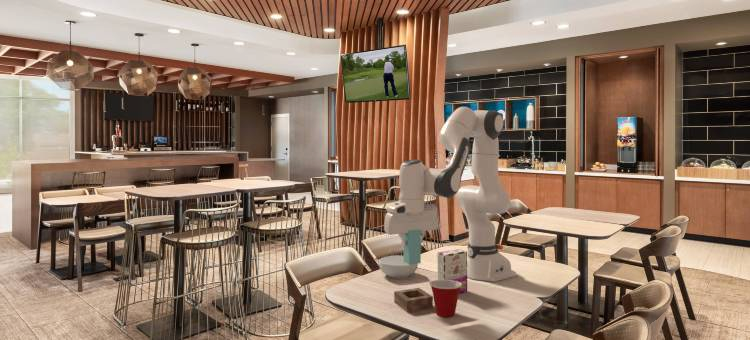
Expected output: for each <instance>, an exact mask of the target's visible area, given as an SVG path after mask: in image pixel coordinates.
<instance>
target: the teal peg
mask: <svg viewBox="0 0 750 340" xmlns="http://www.w3.org/2000/svg"><path fill="white" fill-rule="evenodd" d="M403 237H404V239H405V240H407V245H405V246H403V256H404V262H405V263H407V264H409V265H411V264H418V265H419V264H422V262H421V260H422V259H421V254H422V253H421V251H422V250H421V248H422V247H421V246H422V245H421V244H422V243H421V230H413V231H409V232H408V233H405V236H403Z"/></svg>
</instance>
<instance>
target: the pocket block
mask: <svg viewBox="0 0 750 340" xmlns="http://www.w3.org/2000/svg"><path fill="white" fill-rule="evenodd" d="M393 294H394V295H393V297H394V298H393V300H394V301H393V302H394V303H395V304H396V305H397V306H398V307H399V308H401V310H403V311H404V312H406V313H412V312H418V311H422V310H423V311H424V310H428V309H433V308H434V306H433V305H434V297H433V295H431V294H429V293H428V292H427V291H425V290H424V289H422V288H421V287H414V288H409V289H403V290H396V291H393Z"/></svg>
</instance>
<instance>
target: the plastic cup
mask: <svg viewBox="0 0 750 340" xmlns="http://www.w3.org/2000/svg"><path fill="white" fill-rule="evenodd" d="M429 285H430V288H431V290H432V291H431V292H432V296H433V304H434V308H435V313H436V316H437V317H439V318H443V319H446V318H447V319H449V318H453V317H455V315H456V311H457V310H456V309H457V305H458V298H459V290H460V287H461V286H462V284H461V283H460V282H457V281H453V280H438V279H436V280H432V281H430V282H429Z"/></svg>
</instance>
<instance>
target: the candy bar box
mask: <svg viewBox="0 0 750 340" xmlns="http://www.w3.org/2000/svg"><path fill="white" fill-rule="evenodd" d="M467 263H468V250H465V249H462V248H458V249H451V250H445V251H439V252H437V280H453V281H457V282H460V283H461V284H462V286H461V287H460V290H459V294H463V293H467V292H468V277H467Z"/></svg>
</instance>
